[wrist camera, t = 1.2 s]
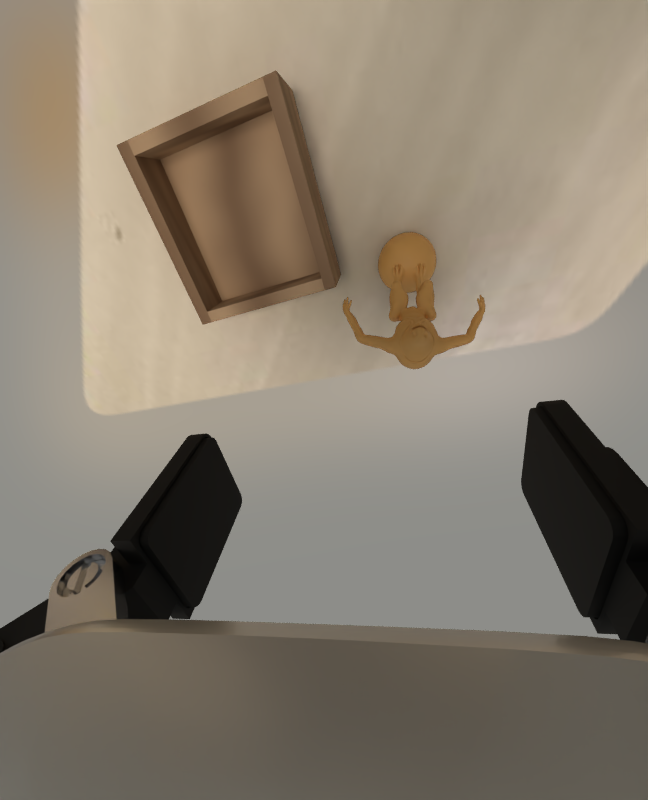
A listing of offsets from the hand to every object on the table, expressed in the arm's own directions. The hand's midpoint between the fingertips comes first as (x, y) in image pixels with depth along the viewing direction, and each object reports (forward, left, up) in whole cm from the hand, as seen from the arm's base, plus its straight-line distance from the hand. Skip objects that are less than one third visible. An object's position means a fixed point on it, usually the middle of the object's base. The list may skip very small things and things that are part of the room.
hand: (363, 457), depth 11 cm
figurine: (-3, -1, -20) cm, 21 cm away
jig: (+7, -8, -20) cm, 23 cm away
